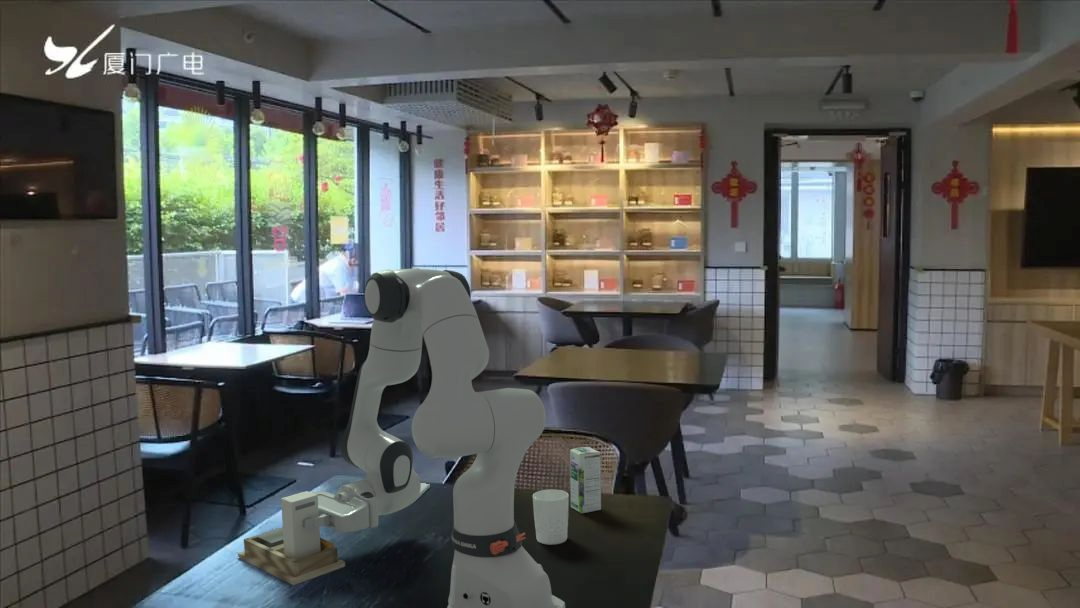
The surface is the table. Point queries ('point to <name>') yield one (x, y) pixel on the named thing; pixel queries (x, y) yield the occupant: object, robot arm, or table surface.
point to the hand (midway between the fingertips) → (296, 521)
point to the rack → (271, 558)
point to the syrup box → (585, 479)
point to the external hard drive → (423, 489)
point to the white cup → (551, 516)
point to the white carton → (300, 525)
